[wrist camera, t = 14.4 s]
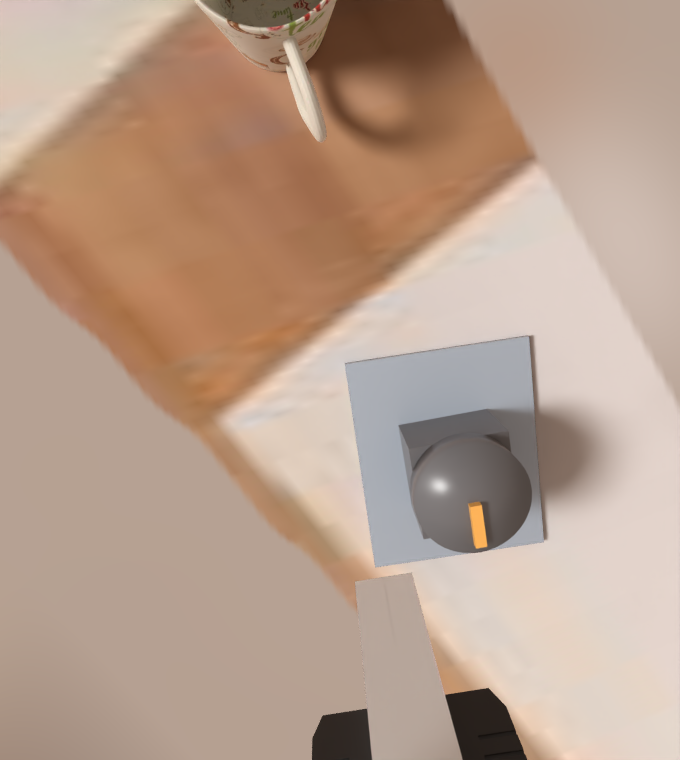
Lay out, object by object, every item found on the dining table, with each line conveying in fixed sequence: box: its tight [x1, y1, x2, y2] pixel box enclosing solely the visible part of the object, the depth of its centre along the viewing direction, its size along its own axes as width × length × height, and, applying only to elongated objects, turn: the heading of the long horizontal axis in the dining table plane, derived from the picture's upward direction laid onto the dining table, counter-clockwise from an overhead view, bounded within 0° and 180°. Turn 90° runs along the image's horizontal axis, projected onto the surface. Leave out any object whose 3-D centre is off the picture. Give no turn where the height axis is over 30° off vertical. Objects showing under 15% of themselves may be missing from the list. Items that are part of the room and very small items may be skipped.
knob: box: [398, 409, 532, 553], centre depth 37 cm, size 7×7×8 cm
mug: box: [194, 0, 337, 142], centre depth 30 cm, size 8×13×10 cm, turn 22°
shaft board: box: [345, 336, 544, 567], centre depth 39 cm, size 16×13×5 cm
